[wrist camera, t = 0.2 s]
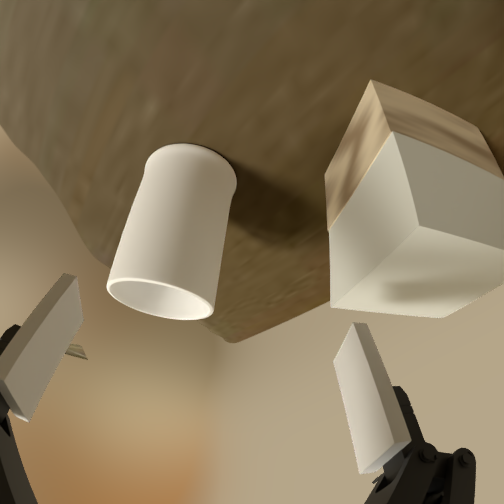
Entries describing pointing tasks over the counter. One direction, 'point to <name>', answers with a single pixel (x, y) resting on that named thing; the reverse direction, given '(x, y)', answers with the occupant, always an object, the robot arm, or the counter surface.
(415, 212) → the tower top
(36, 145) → the counter surface
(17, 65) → the counter surface
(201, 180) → the mug
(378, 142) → the block
